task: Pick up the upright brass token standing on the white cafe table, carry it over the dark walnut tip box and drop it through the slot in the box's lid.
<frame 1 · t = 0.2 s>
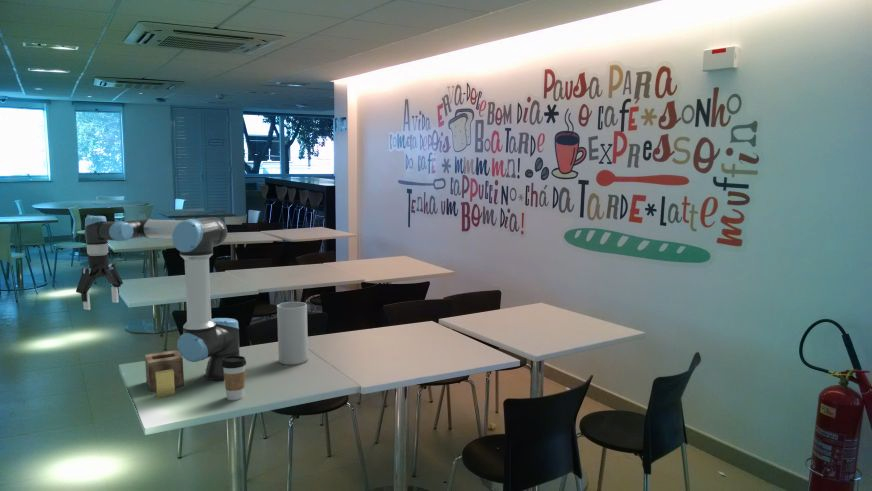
hand: (101, 305, 246), 28 cm above the table, fingers open, 13 cm apart
cylinder vase: (293, 361, 264), on the table
token: (165, 395, 224), on the table
coffee cup: (235, 397, 221), on the table
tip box: (165, 383, 235), on the table
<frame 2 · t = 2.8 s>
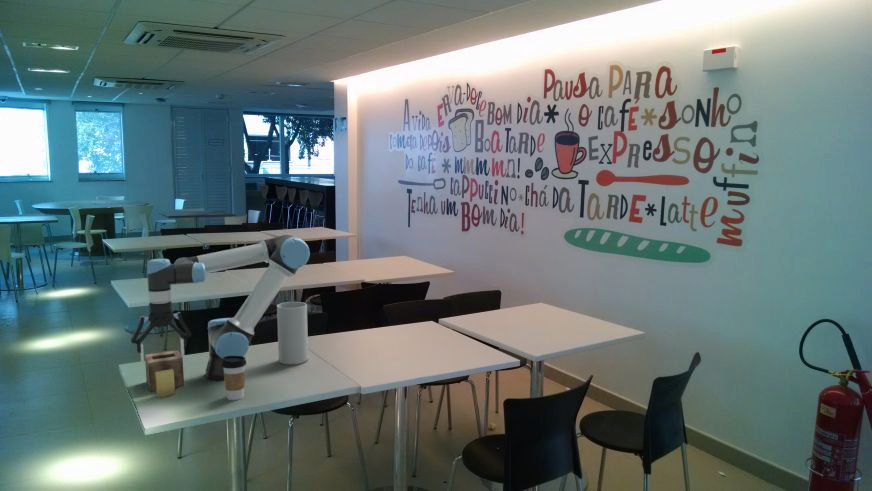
hand: (162, 358, 222), 14 cm above the table, fingers open, 13 cm apart
nothing on the table moved.
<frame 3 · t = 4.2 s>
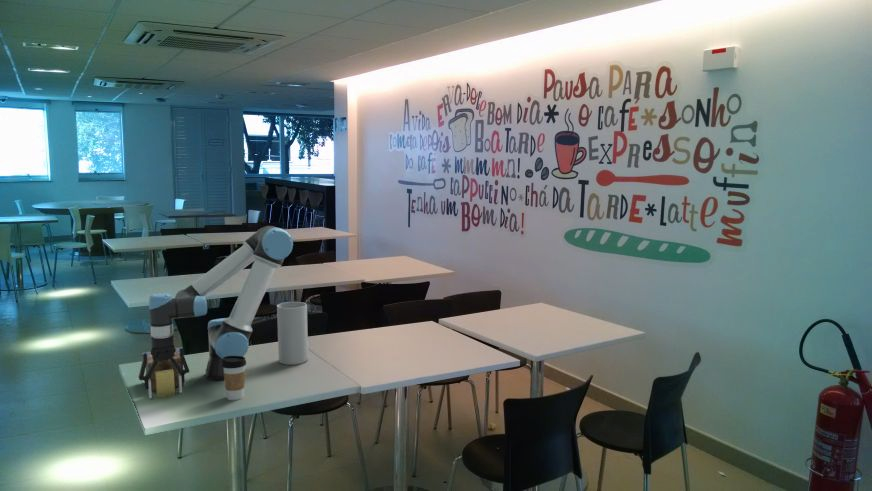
hand: (165, 394, 224), 0 cm above the table, fingers open, 10 cm apart
nothing on the table moved.
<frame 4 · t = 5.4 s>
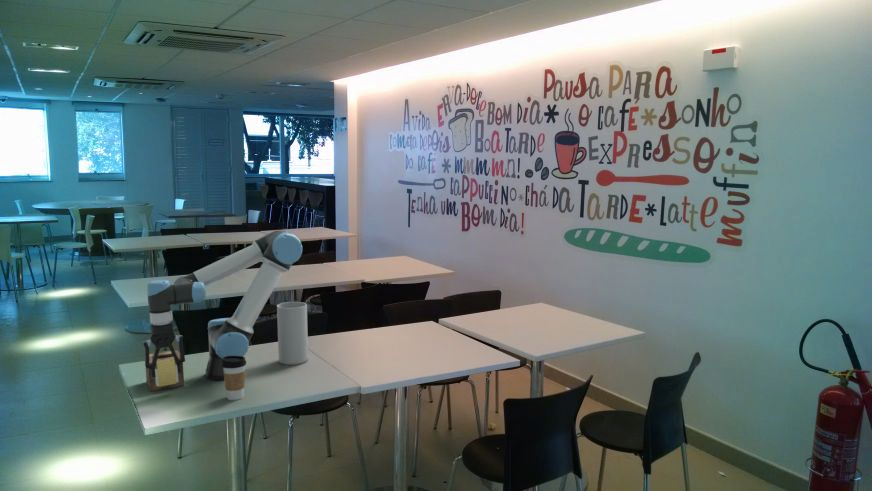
hand: (167, 382, 223), 4 cm above the table, fingers closed on token, 6 cm apart
token: (167, 383, 223), point 4 cm above the table, touching gripper
everything else where it was.
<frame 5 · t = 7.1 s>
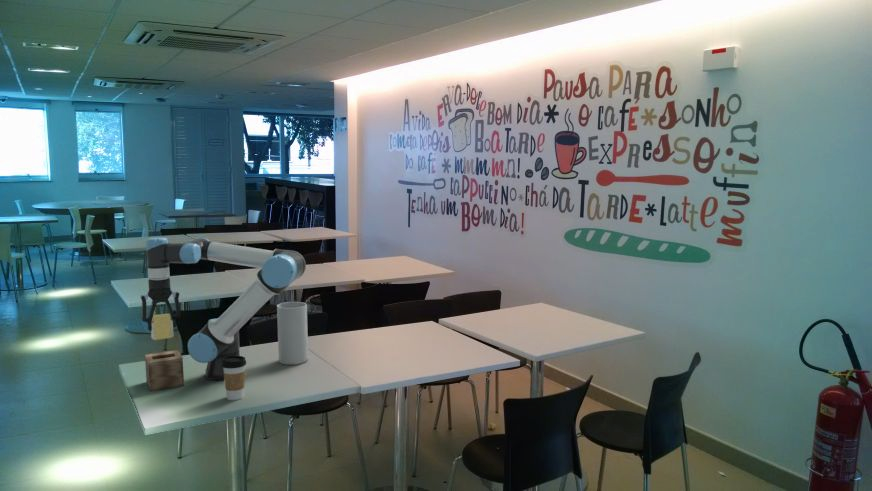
hand: (162, 337, 233), 19 cm above the table, fingers closed on token, 6 cm apart
token: (162, 337, 233), point 18 cm above the table, touching gripper
everything else where it was.
when the fingers open (11 cm above the table, at t = 8.8 s): token drops 10 cm, resting on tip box.
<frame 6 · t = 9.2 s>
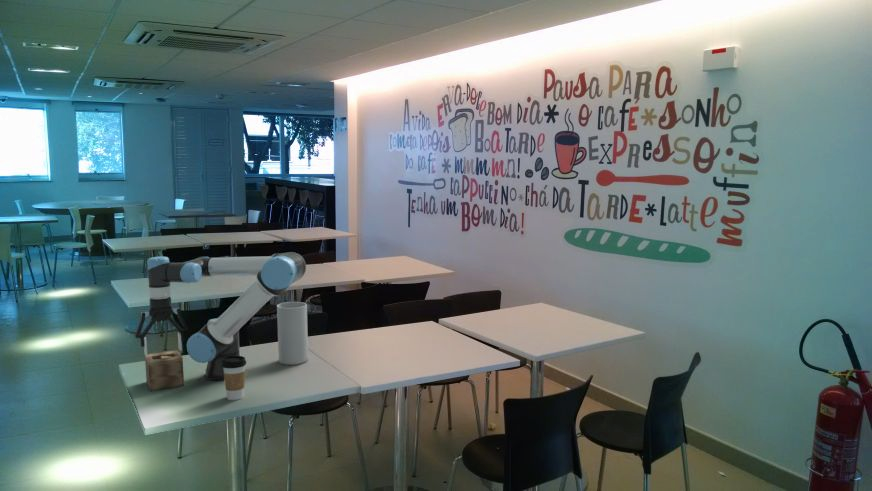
hand: (163, 352, 234), 13 cm above the table, fingers open, 11 cm apart
token: (165, 379, 235), point 2 cm above the table, tilted 13°, touching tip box
everything else where it was.
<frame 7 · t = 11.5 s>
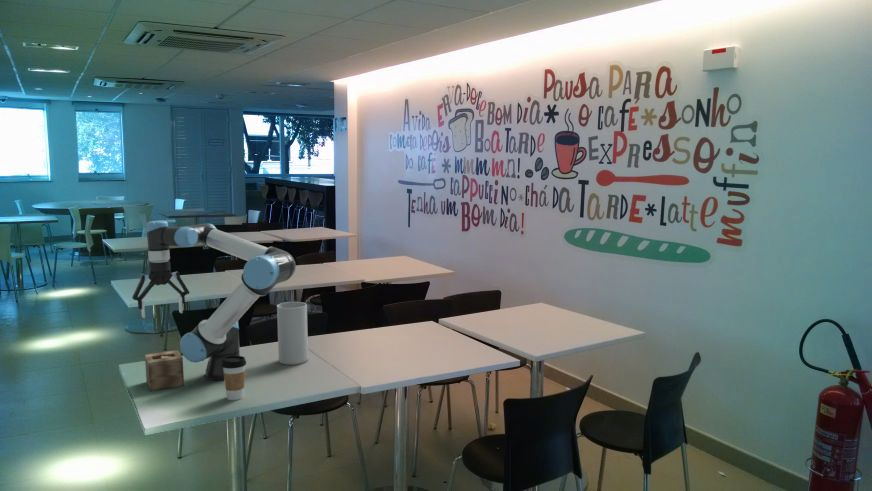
hand: (162, 314, 236), 27 cm above the table, fingers open, 13 cm apart
nothing on the table moved.
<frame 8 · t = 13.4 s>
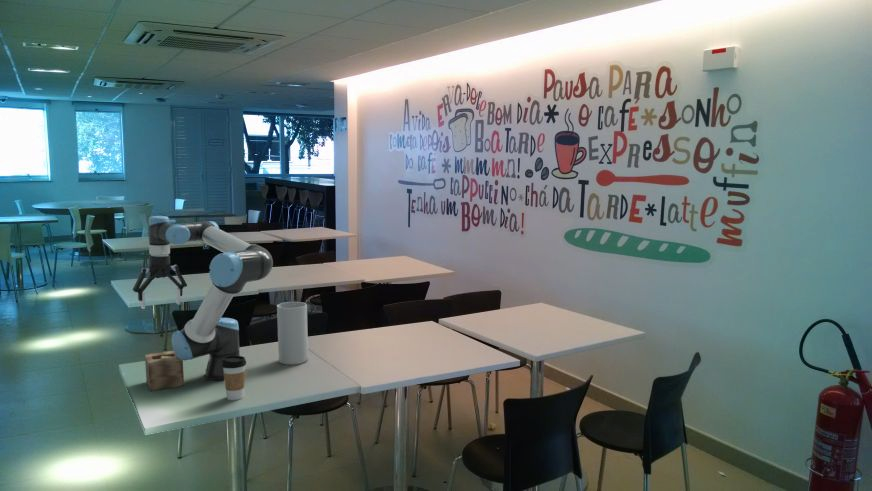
hand: (161, 306, 245), 28 cm above the table, fingers open, 13 cm apart
nothing on the table moved.
at the end: token inside the target area on the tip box (0.1 cm from its centre), point 1.5 cm above the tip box's base; the gripper is holding nothing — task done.
